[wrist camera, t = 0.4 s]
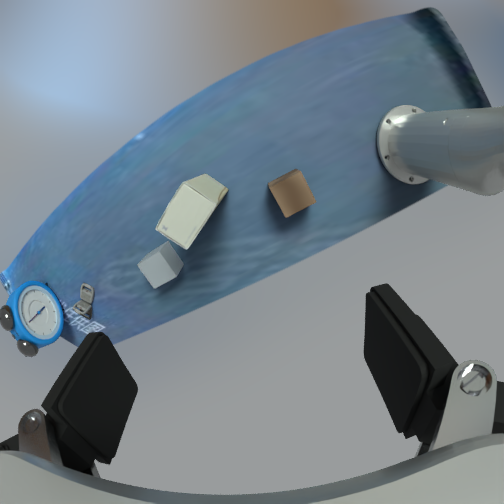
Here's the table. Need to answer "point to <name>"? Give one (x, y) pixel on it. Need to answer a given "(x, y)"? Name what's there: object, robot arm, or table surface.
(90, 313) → the strap clip
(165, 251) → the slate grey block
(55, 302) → the alarm clock
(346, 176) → the table surface
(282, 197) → the walnut block
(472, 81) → the table surface
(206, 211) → the skincare box
